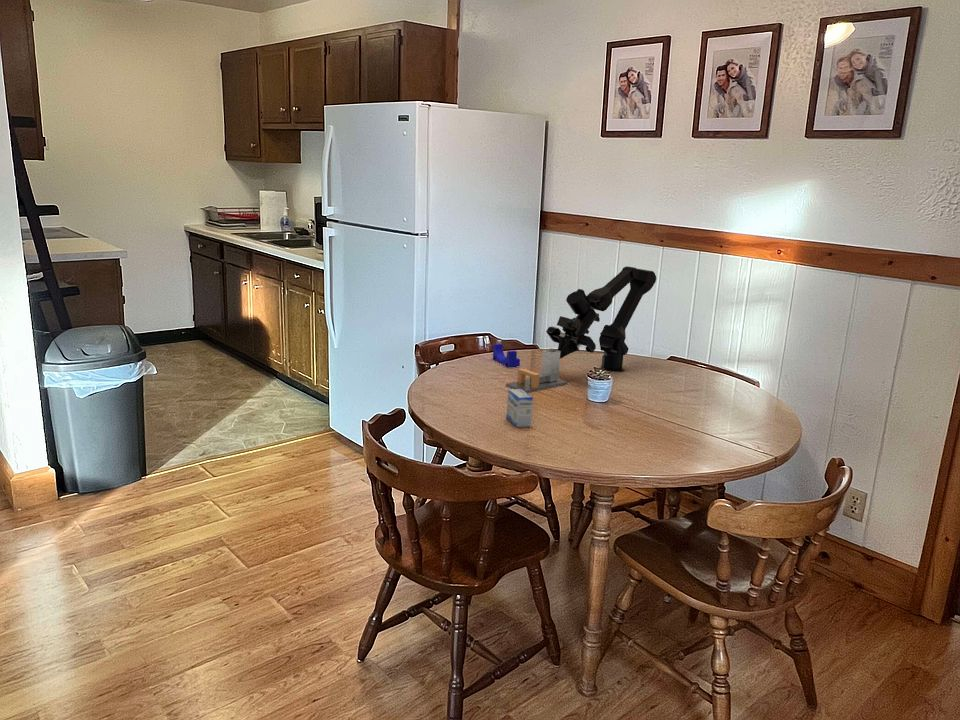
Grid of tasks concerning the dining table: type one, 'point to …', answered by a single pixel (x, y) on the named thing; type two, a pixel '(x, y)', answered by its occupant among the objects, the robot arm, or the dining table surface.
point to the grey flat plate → (528, 388)
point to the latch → (550, 366)
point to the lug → (533, 375)
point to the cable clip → (508, 360)
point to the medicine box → (519, 408)
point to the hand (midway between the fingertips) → (556, 358)
